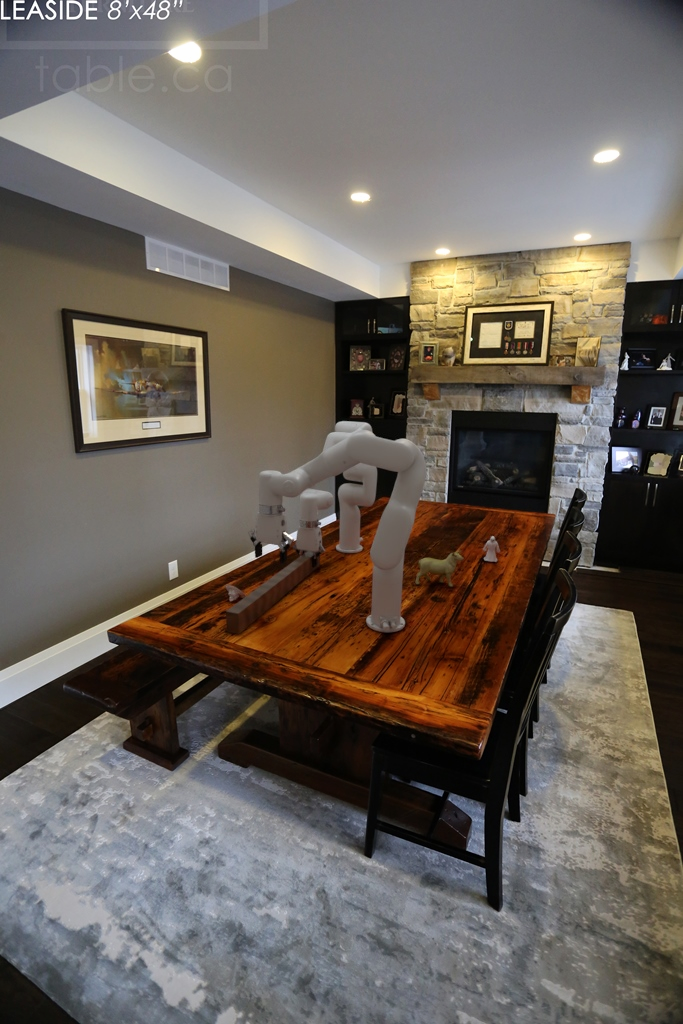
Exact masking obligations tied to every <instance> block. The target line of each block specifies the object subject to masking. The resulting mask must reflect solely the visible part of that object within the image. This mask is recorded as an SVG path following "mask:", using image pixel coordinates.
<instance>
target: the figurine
mask: <svg viewBox="0 0 683 1024" xmlns="http://www.w3.org/2000/svg"><path fill="white" fill-rule="evenodd" d="M482 551H483V552H486V554H485V556H484V557H483V560H484V561H485V562H495V563H498V558H497V554H496V553H498V554H499V553H501V550H500V547H499V543H498V541H497V540H496V538H495V536H493V535H492V536H490V539H489V540H487V542H486V543H485V544H484V546H483V548H482Z"/></svg>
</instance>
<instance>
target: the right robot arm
mask: <svg viewBox="0 0 683 1024" xmlns="http://www.w3.org/2000/svg"><path fill="white" fill-rule="evenodd" d="M359 463H363V464H367V465H370V466H374V467H376V468H377V469H378V468H379V469H383V470H387V471H391V472H397V476H396V479H395V482H394V486H393V490H392V492H391V495H390V498H389V500H388V503H387V505H386V506H385V507H384V509H383V512H382V514H381V517H380V520H379V523H378V526H377V529H376V532H375V535H374V537H373V541H372V544H371V547H370V551H369V556H370V557H369V558H370V560H371V562H372V564H373V565H372V585H371V586H372V587H371V607H370V609H371V613H370V615H368V616H367V617H366V621H365V622H366V623H365V624H366V625H367V627H368V628H369V629H372V630H373V631H376V632H379V633H396V632H398V631H402V630H403V629H404V628H405V626H406V620H405V618H403V617H402V615H401V614H402V599H403V598H402V597H403V580H404V561H405V551H406V548H407V544H408V542H409V540H410V536H411V533H412V530H413V528H414V524H415V519H416V513H417V512H416V511H417V510H418V505H419V503H420V499H421V497H422V494H423V489H424V487H425V483H426V478H427V463H426V459H425V457H424V453H423V452H422V451H421V450H420V448H419V446H418V445H416V444H415V443H414V442H413V441H411V440H409V439H408V438H399V439H395V440H392V439H388V438H383V437H381V436H380V437H379V436H376V434H374V433H373V431H372V432H371V431H368V430H361V431H358V432H356V433H354V434H353V435H351V436H349V437H348V438H346V439H344V440H343V441H341V442H339V443H337V444H336V445H334V446H332V447H330V448H328V449H327V450H325V451H323V450H322V452H321V453H319V454H318V456H316V457H315V458H313V459H311V460H309V461H308V462H306V463H304V464H303V465H301V466H299V467H297V468H296V469H294V470H291V471H289V472H287V473H282V472H281V471H280V470H271V469H270V470H268V469H267V470H263V471H262V470H261V472H259V474H258V511H257V514H256V519H255V528H253V529H250V530H248V531H247V533H248V536H249V539H250V541H251V543H252V546H253V547H254V558H256V559H258V558H260V557H262V556H263V544H267V545H268V544H269V545H273V546H277V547H278V548H279V549H280V551H279V563H280V564H283V563H285V562H287V560H288V550H289V549H290V548H291V547H293V545H294V542H295V539H294V537H293V536H291V535H290V534H288V525H287V518H286V514H285V512H286V508H285V507H284V505H283V501H284V500H283V499H284V498H283V497H285V498H297V497H298V496H300V495H301V493H302V492H303V491H305V490H307V489H308V488H310V487H312V486H313V485H315V486H316V485H317V484H319V483H321V482H322V481H324V480H326V479H329V478H331V477H336V476H339V475H341V474H343V472H344V471H346V470H348V469H349V468H351V467H353V466H355V465H357V464H359ZM262 543H263V544H262Z"/></svg>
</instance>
